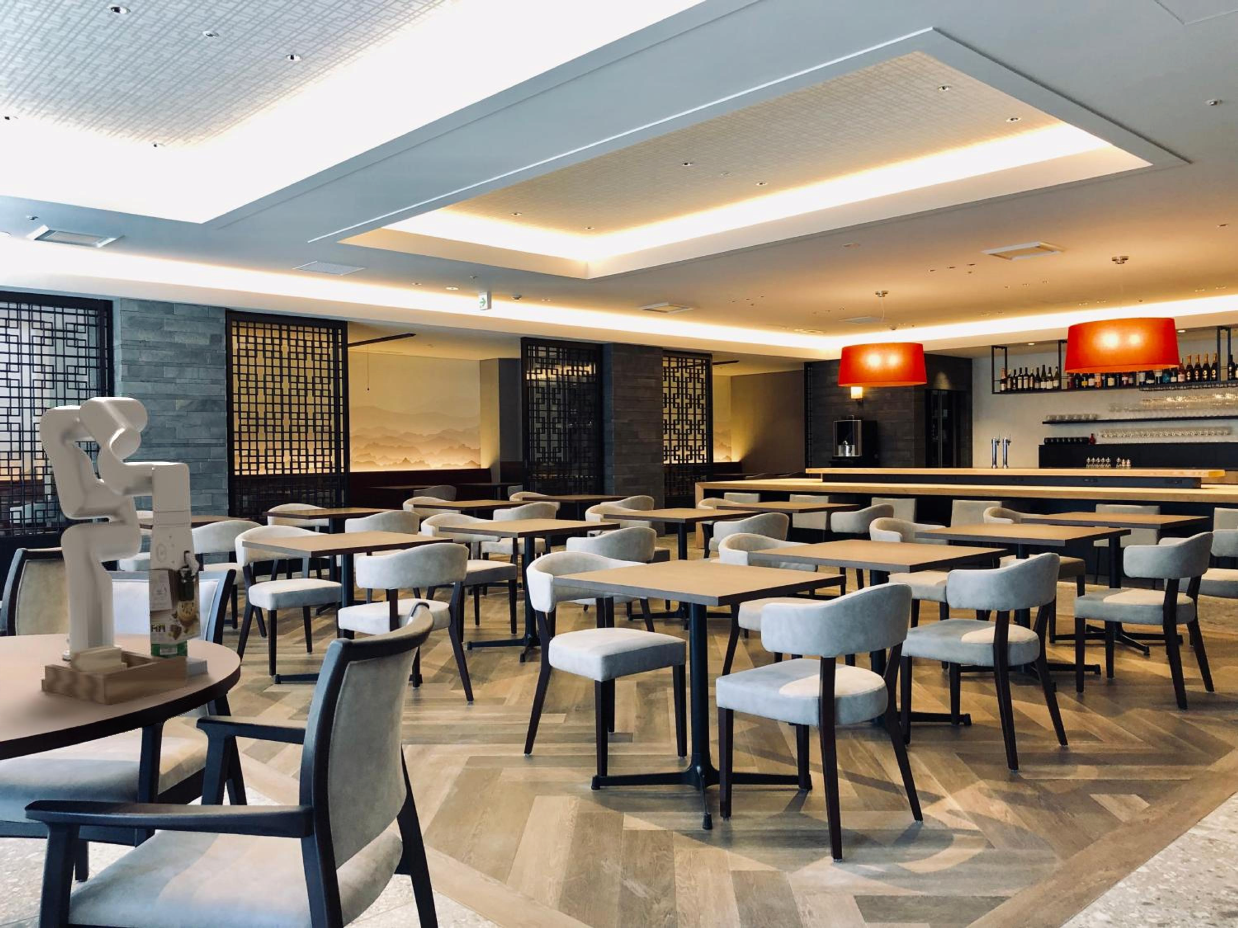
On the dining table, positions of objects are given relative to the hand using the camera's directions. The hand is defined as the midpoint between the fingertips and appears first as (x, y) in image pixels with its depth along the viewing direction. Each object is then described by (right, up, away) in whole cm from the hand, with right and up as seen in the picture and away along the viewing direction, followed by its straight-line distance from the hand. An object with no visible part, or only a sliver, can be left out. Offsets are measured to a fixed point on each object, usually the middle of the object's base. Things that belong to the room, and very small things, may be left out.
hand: (174, 598), depth 212 cm
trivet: (0, -16, 0) cm, 16 cm away
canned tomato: (-8, -16, +14) cm, 23 cm away
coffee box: (0, -9, 0) cm, 9 cm away
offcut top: (-13, -13, -8) cm, 20 cm away
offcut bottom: (-13, -17, -7) cm, 23 cm away
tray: (-7, -17, -11) cm, 21 cm away
